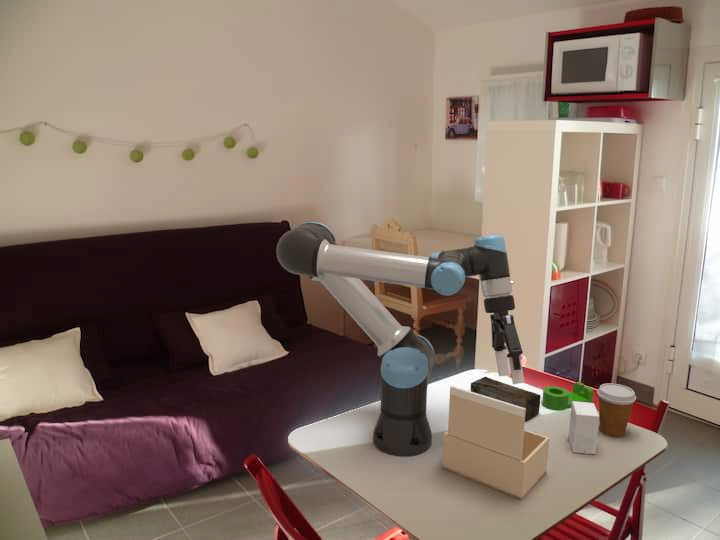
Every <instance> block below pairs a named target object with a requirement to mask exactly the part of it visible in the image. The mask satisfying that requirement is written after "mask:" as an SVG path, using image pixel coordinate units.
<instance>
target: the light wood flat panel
mask: <svg viewBox="0 0 720 540" xmlns="http://www.w3.org/2000/svg"><path fill="white" fill-rule="evenodd" d="M525 415H526V408H523V407H520V406H516V405H513V404H510V403H507V402H503V401H500V400H497V399H493V398H490V397H487V396H484V395H480V394H477V393H474V392H471V390H466V389H464V388H461V387H457V386H454V385H450V387H449V404H448V420H447V421H448V424H447V425H448V426H447V431H448V434H449V435H451V436H454V437H457V438H460V439H462V440H465V441H468V442H471V443H473V444H476V445H479V446H482V447H484V448H487V449H490V450H493V451H495V452H498V453H501V454H504V455H506V456H509V457H512V458H515V459H517V460H520V461H521V460H522V450H523V438H524V430H525V426H526V425H525V424H526V423H525V422H526V421H525Z"/></svg>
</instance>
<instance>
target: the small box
mask: <svg viewBox="0 0 720 540" xmlns="http://www.w3.org/2000/svg"><path fill="white" fill-rule="evenodd" d="M599 427H600V423H599V411H598V410H597V408H596V405H595V403H594V402H592V403H587V402H577V401H572V406H571V408H570V418H569V430H568V440H569V443H570V447H571V450H572V453H577V454H578V453H579V454H587V455H596V453H597V445H598V444H597V443H598V435H599Z"/></svg>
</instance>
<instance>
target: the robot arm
mask: <svg viewBox="0 0 720 540" xmlns="http://www.w3.org/2000/svg"><path fill="white" fill-rule="evenodd" d="M336 240H337V239H336V237H335V234H334V232H333V231H332V230H331V229H330V228H329V226H327V225H326V224H324V223H321V222H316V221H309V222H305V223H302V224H300V225H298V226H296V227H295V228H292V229H290V230H288V231H287V232H284V234H283V235H282V236H280V238H279V240H278V242H277V244H276V249H275V250H276V251H275V252H276V258H277V261H278V262H279V264H280V265H281V267H282V268H284V270H286V271H287V272H289V273H291V274H294V275H299V276H305V277H308V278H309V279H310V280H311V281H315V282H317V281H318V282H320V283H321V285H323V286H324V287H325V289H326V290H327V291H328V292H329V293H330V294H331V296H333V297H334V299H335V300H336V301H337V302H338V303H339V305H340V306H341V307H342V308H343V309H344V310H345V311H346V312H347V313H348V315H349V316H350V317H351V318H352V319H353V320H354V322H355V323H356V324H357V325H358V326H359V327H360V328H361V329H362V330H363V332H364V333H365V334H366V335H367V336H368V337H369V338H370V339H371V341H372V342H374V344H375V345H376V346H377V356H378V357H379V358H380V359H381V365H380V378H381V379H380V412H379V416H377V417H378V418H377V421H376V423H375V425H374V428H373V434H372V441H373V444H374V445H375V447H376V446H377V448H378V449H379V450H381V451H382V452H384V453H387V454H390V455H395V456H403V457H405V456H406V457H407V456H415V455H420V454H422V453H424V452H426V451H428V450H429V449H430V448H431V446H432V444H433V443H432V441H433V433H432V429H431V427H430V426H431V425H430V423H429V422H430V421H429V420H428V416H427V403H428V402H427V397H428V386H429V381H430V378H431V374H432V371H433V369H434V367H435V363H436V362H435V359H436V356H435V350H434V347H433V344H431V343H430V341H429V340H428V339H427V338H425V336H422V335H419V334H417V333H416V332H415V331H414V330H413V329H412V328H411V327H410V326H403V325H401V323H400V322H399V321H397V319H396V318H395V317H394V316H393V315H392V314H391V313H390V311H389V310H388V309H387V308H386V307H385V305H383V303H382V302H381V301H380V299H378V298H377V297H376V295H374V294H373V292H372V291H371V290H370V289H369V287H368V286H367V285H366V284H365V283H364V281H363V280H365V281H373V282H380V283H386V284H392V285H393V284H394V285H401V286H409V287H415V288H421V289H429V290H433V291H434V290H435V292H437V293H438V294H440V295H442V296H452V295H454V294H455V295H456V294H457V293H458V292H459V291H460V290H461V289H462V287H463V286H464V283H465V281H466V278H468V277H469V278H470V277H475V276H476V277H477V276H479V279H480V287H481V292H482V297H484V298H483V299H484V300H483V305H484V312H485V313H486V314H490V316H489V318H490V324H491V327H490V328H491V347H492V349H493V351H495V354H494V355H495V360H496V366H497V372H498V377H505V376H510V375H511V383H512V385H517V384H525V378H524V370H523V365H522V364H523V363H522V358H521V357H522V354H523V349H522V345H521V342H520V337H519V335H518V331H517V327H516V324H515V318H514V316H513V314H509V311H513V310H514V311H515V309H516V305H515V304H516V303H515V297H514V295H513V294H512V293H513V284H514V281H513V280H511V272H510V266H509V260H508V259H509V258H508V251H507V248H506V243H505V239H504V237H503V236H502V235H501V234H493V235H486V236H481V237H477V238H475V239H474V243H473V245H472V246H469V247H463V248H457V249H450V250H441V251H439V252H434V253H431V254H430V256H422V255H417V254H416V255H415V254H405V253H400V252H394V251H393V252H392V251H386V250H385V251H384V250H378V249H376V250H375V249H369V248H362V247H356V246H355V247H354V246H348V245H347V246H346V245H339V244H337V241H336ZM507 352H508V353H507Z"/></svg>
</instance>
